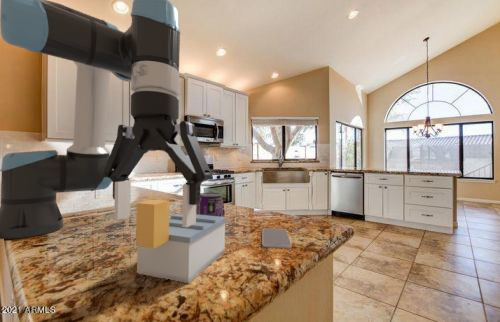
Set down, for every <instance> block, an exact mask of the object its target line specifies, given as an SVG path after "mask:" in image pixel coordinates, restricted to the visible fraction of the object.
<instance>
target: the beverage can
mask: <svg viewBox="0 0 500 322" xmlns="http://www.w3.org/2000/svg"><path fill="white" fill-rule="evenodd" d="M223 213H224V199H223V197H222V193H220V192H200V203H199V204H196V214H198V215H208V216H219V217H224V216H223V215H224V214H223Z"/></svg>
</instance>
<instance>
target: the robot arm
mask: <svg viewBox="0 0 500 322" xmlns="http://www.w3.org/2000/svg"><path fill="white" fill-rule="evenodd" d="M131 6H132V8H131V12H130V17H131V22H130V23H131V24H130V26H129V27H128V28H127V30H125V32H124V31H121V30H120V28H118V27H117V25H114V24H112V23H110V22H108V21H106V20H104V19H102V18H101V19H100V18H97V17H95V16H92V15H90V14H87V13H84V12H82V11H79V10H77V9H74V8H72V7H69V6H66V5H64V4H61V3H59V2H55V1H51V0H0V35H1V36H0V37H1V39H2V40H3V41H5V43H7V44H8V45H11V46H15V47H18V48H21V49H25V50H27V51H29V52H31V53H39V54H42V55H47V56H52V57H55V58H60V59H63V60H67V61H72V62H73V63H74V64H75V66H76V81H75V82H76V84H75V103H74V118H73V119H74V120H73V121H74V124H73V141H72V145H70V146H68V147H67V148H66V154H59V153H58V151H57V150H55V149H54V150H53V149H52V150H50V149H49V150H35V151H34V150H31V151H17V152H9V153H6V154H5V155H3V157H2V160H1V168H0V172H1V184H0V185H1V186H0V187H1V188H0V240H8V239H9V240H10V239H11V240H12V239H21V238H22V239H24V238H28V237H29V238H30V237H37V236H41V235H42V236H43V235H45V234H49V233H52V232H56V231H58V230H61V229H62V228H63V227H64V218H63V216H62V213H61V211H60V209H59V206H58V203H57V194H58V193H71V192H72V193H73V192H89V191H90V192H93V191H94V192H95V191H100V190H101V191H102V190H105V189H107V188H109V187H110V185H111V184H112V200H114V209H113V210H114V213H113V215H114V218H113V219H114V221H119V220H123V219H127V218H130V217H131V192H132V188H131V186H132V185H131V184H132V183H131V182H132V181H131V180H130V178H129V176H130V175H131V173H132V172H133V170H135V168H136V166H137V165H138V164H139V162H140V161H141V159H142V158H143V157H144V155H145V154H147V153H148V152H149V151H150V152H156V151H163V152H165V153H166V154H167V155H168V157H169V158H170V160H172V162H173V164H174V165H175V167H176V168H177V169H178V171H179V172H180V174H181V175H182V176H183V178H184V180H186V182H185V183H183V184H182V211H181V212H182V213H181V214H182V227H189V226H191V225H193V224H195V223H196V214H197V204H199V203H200V193H202V192H201V191H202V190H201V189H202V188H201V186H202V183H203V182H206V181H208V180H211V179H212V178H213V174H212V171H211V170H210V166H209V165H208V162H207V159H206V157H205V155H204V153H203V151H202V149H201V147H200V144H199V142H198V139H197V137H196V128H195V124H194V123H192V122H188V121H186V120H181V121H180V123H178V119H179V117H180V115H179V114H180V113H179V112H180V107H179V106H180V100H179V99H178V97H179V95H180V48H181V47H180V45H181V29H180V14H179V11H178V9H177V7H176V6H175V5H174V4H173V3H172V2H171V1H170V0H133V1H132V5H131ZM111 74H113V76H115V77H116V78H118V79H119V80H121V81H124V82H129V83H130V84H131V86H130V88H131V89H130V90H131V91H132V92H133V93H132V94H131V95H130V116H131V117H132V118H133V122H134V123H133V126H130V125H125V124H119V125H118V126H117V133H116V139H115V142H114V144H113V146H112V149H111V151H110V150H109V149H108V148H106V136H107V121H108V107H109V106H108V105H109V94H110V92H109V91H110V75H111ZM178 135H179V136H180V138H181V141H182V144H183V146H184V149H185V151H186V153H187V155H188V157H187V155H186V154H185V152H184V151H183V150H182V147H181V145H180V143H179V142H178V141H177V140H176V138H177V136H178Z"/></svg>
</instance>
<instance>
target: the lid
mask: <svg viewBox="0 0 500 322" xmlns="http://www.w3.org/2000/svg"><path fill="white" fill-rule="evenodd" d="M170 207H171V206H170V200H165V199H164V200H162V199H150V200H146V201H145V200H144V201H140V202H136V221H135V223H136V228H135V247H138V246H140V247H146V248H152V249H154V248H156V247H158V246H160V245H162V244H164V243H166V242H168V241H176V242H183V243H191V242H193V241H195V240H196V239H198V238H200V237H201V236H203V235H205V234H206V233H208V232H210V231H211V230H213V229H215V228H217V227H218V226H220V225H222V224H223V223H225V224H226V223H227V219H228V218H227V216H223V217H219V216H208V215H198V214H197V213H196V223H195V224H193V225H191V226H189V227H182V213H181V214H178V215H177V214H176V215H175V214H172V215H170Z"/></svg>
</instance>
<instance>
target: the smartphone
mask: <svg viewBox="0 0 500 322" xmlns="http://www.w3.org/2000/svg"><path fill="white" fill-rule="evenodd" d="M261 233H262V235H261V237H262V239H261V242H262V243H261V245H262V247H263V248H277V249H291V248H292V242H291V239H290V236H289V234H288V231H287V229H285V228H268V227H266V228H265V227H264V228H262V232H261Z"/></svg>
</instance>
